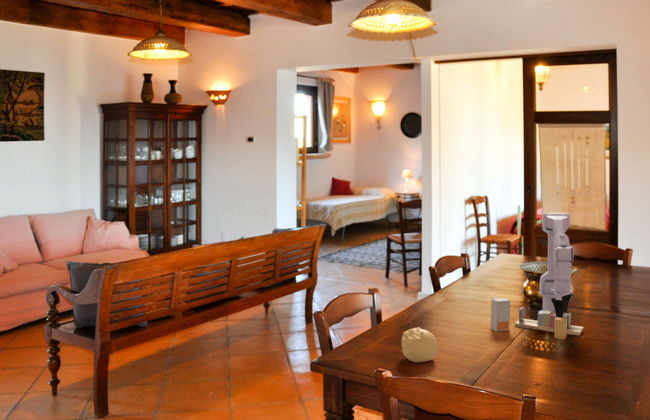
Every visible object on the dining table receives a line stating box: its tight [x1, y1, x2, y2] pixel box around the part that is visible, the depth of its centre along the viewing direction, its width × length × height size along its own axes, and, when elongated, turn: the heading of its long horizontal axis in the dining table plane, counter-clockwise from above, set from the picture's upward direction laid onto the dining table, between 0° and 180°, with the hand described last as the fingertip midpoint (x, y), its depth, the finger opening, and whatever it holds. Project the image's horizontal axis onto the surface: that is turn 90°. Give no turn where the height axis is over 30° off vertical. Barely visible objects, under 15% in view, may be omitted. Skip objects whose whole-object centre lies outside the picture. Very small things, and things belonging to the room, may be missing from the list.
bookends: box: [518, 306, 572, 330], centre depth 247 cm, size 5×18×5 cm, turn 59°
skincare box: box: [490, 297, 511, 332], centre depth 244 cm, size 6×4×12 cm
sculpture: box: [400, 326, 438, 363], centre depth 213 cm, size 12×12×11 cm
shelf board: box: [514, 318, 584, 336], centre depth 246 cm, size 8×24×1 cm, turn 59°
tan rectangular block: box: [554, 317, 568, 340], centre depth 235 cm, size 4×4×7 cm
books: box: [536, 309, 569, 328], centre depth 245 cm, size 5×11×5 cm, turn 60°
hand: (561, 314), depth 235 cm, fingers open, 7 cm apart
